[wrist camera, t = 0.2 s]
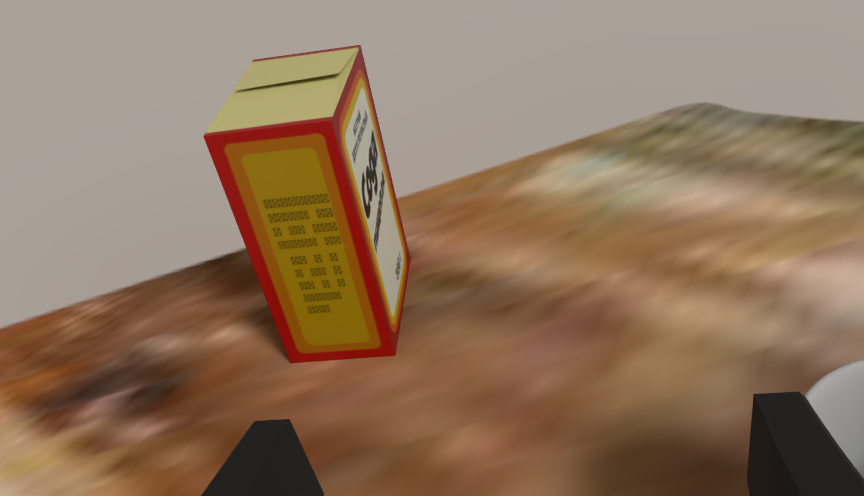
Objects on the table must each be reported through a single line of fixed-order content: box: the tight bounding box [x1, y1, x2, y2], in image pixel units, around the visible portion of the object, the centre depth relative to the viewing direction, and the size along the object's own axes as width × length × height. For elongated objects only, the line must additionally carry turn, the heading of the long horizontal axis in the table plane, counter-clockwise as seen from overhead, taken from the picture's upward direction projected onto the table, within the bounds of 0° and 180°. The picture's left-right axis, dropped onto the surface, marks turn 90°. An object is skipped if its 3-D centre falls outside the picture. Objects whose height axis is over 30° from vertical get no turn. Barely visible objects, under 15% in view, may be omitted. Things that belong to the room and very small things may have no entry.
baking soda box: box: [204, 45, 410, 363], centre depth 46 cm, size 10×6×16 cm
